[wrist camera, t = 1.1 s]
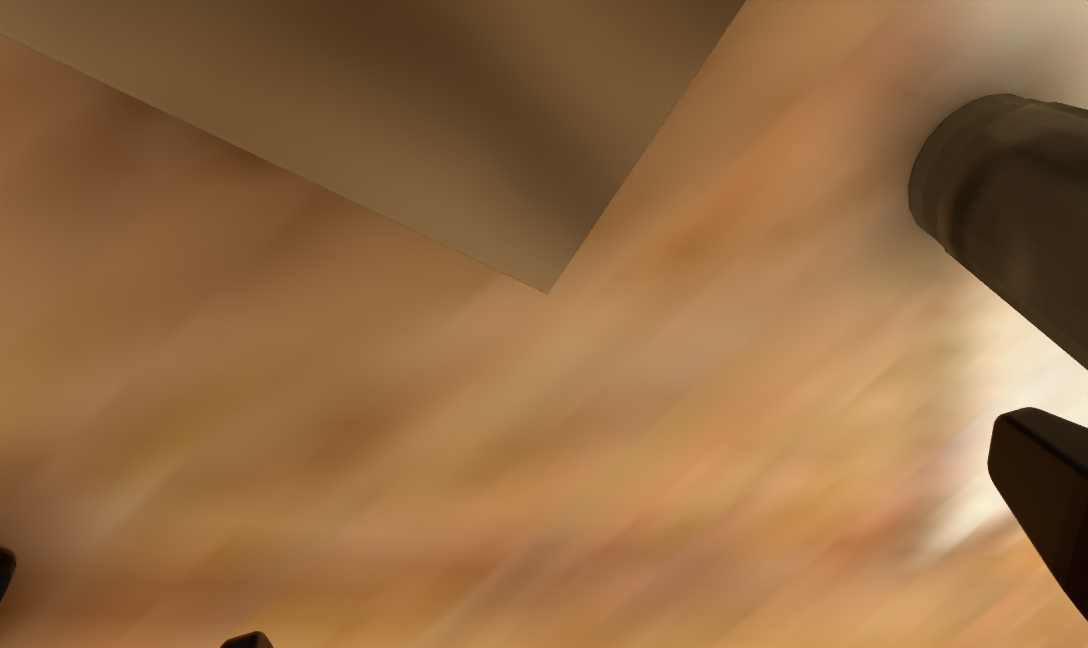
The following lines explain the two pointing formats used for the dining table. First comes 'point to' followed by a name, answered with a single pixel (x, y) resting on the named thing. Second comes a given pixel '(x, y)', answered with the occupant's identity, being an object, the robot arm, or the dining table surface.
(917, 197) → the beverage cup
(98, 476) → the dining table surface
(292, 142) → the walnut board
